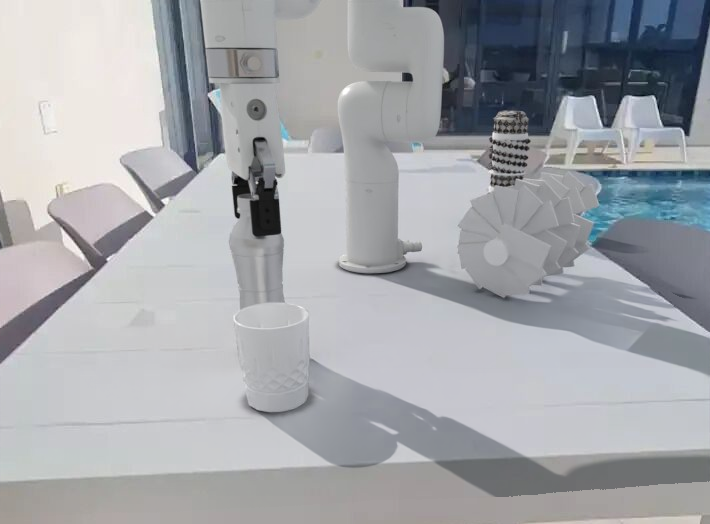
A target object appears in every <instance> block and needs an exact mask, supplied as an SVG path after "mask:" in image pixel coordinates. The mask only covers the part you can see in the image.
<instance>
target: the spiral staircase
mask: <svg viewBox="0 0 710 524" xmlns="http://www.w3.org/2000/svg"><path fill="white" fill-rule="evenodd" d="M488 193H489V192H488ZM488 193H485V194H483V195H481V196H478V197H475V198H472V199H470V200H469V201H470V205H471V207H470V208H469V210H468V211H467V212H466V213H465V214H464V216H463V217H462V219H461V220H460V221H459V222H458V224H457V227H459V229H460V230H459V237H458V238H459V239H458V244H457V254H458V256H459V261H460V268H461V269H462V270H465V271H466V273H467V274H468V275H469V277H470V278H471V279H472V281H473V282H474V284H475V285H476V287H477V288H478V289H479V290H481V289H483V288H484V289H486V290H488V291H490V292H492V293H493V294H495V295H497V296H499V297H502V298H503V299H505V298H506V296H507V295H529V294H530V293H531V292H530V291H531V290H530V286H543V279H544V278H546V277H550V276H555V275H561V274H564V273H565V270H564V268H575V260H576V259H577V258H579V257H580V256H582V255H583V254H585V253H586V252H587V251H588V250H590V249H591V246H590V245H589V244H588V240H589V238H590V235H591V233H592V230H593V228H594V225H595V222H594V221H592V220H590V219H587V218H585V217H583V216H580V215H578V214H581V213H583V212H586V211H589V210H592V209H595V208H598V207H600V206H601V205H600V203H599V202H600V201H599V199H598V197H597V194H596V189H595V187H594V184H593V183H590V184H587V185H585V184H584V183H583V182H582V181H581V180H580V179H578V178H577V177H576V176H575V175H574V174H573V173H571V171H569V170H568V171H566V172H565V173H564V175H562V174H561V175H560V174H556V173H555V174H554V173H549V172H543V171H542V172H540V178H539V177H538V178H536V179H533V178H525V177H523V180H520V179H516V181H515V185H512V186H508V187H501V186H497V185H495V186H494V191H491V193H489V194H488Z"/></svg>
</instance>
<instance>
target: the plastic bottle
mask: <svg viewBox="0 0 710 524" xmlns="http://www.w3.org/2000/svg"><path fill="white" fill-rule="evenodd" d="M249 200H253V199H252V195H251V194H242V195H239V196H237V202H238V208H237V212H238V213H240V218H239V219H237V221H236V223H235V224H234V225H233V227H232V229H231V232H230V233H229V238H228V245H229V250H230V254H231V257H232V261H233V265H234V270H235V274H236V281H237V284H238V292H239V310H241V309H243V308H246V307H249V306H252V305H257V304H263V303H286V299H285V295H284V284H283V281H284V277H283V276H284V275H283V265H284V253H285V249H284V248H285V239H284V236H283V234H282V232H281V233H280V234H279V235H269V236H259V237H256V236H254V235H253V234H252V224H251V213H250V202H249Z"/></svg>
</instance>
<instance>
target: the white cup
mask: <svg viewBox="0 0 710 524" xmlns="http://www.w3.org/2000/svg"><path fill="white" fill-rule="evenodd" d="M232 321H233V326H234V327H233V328H234V334H235V341H236V345H237V346H236V347H237V353H238V358H239V364H240V370H241V376H242V381H243V382H244V387H245V394H246V399H247V403H248V406H249V407H251V408H253V409H255V410H256V411H260V412H266V413H283V412H287V411H291V410H295V409H298V408H299V407H301V406H302V405H304V404H305V403H306V401H307V400H308V397H309V375H310V313H309V310H307V308H305V307H304V306H301V305H298V304H295V303H291V302H289V303H288V302H285V303H263V304H257V305H252V306H249V307H246V308H243V309H241V310H240V309H239V310H238V311H236V312H235V313H234V314H233V316H232Z"/></svg>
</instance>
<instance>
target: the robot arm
mask: <svg viewBox="0 0 710 524" xmlns="http://www.w3.org/2000/svg"><path fill="white" fill-rule="evenodd" d="M321 1H322V0H199V2H200V10H201V19H202V28H203V30H202V31H203V39H204V46H205V56H206V67H207V74H208V75H207V77H208V83H209V84H218V85H219V97H220V99H219V102H220V110H221V111H220V112H221V113H220V114H221V124H222V136H223V145H224V151H225V158H226V164H227V167H228V169H229V170H230V171H231V184H232V185H231V192H232V193H231V195H232V202H233V204H232V205H233V214H234V217H235V218H236V219H237V220H239V218H240V213H238V212H237V208H238V202H237V196H239V195H242V194H251V195H252V199H253V200H249V202H250V213H251V224H252V234H253V235H254V236H256V237H259V236H269V235H279V234H280V233H282V222H281V207H280V194H279V193H280V192H279V189H278V188H279V187H278V184H279V183H278V179H282V178H283V177H284V176H285V174H286V162H285V153H284V144H283V136H282V126H281V125H282V124H281V118H280V111H279V104H278V103H279V102H278V97H277V92H276V86H275V84H279V83H280V69H279V68H280V67H279V66H280V65H279V53H278V39H277V37H278V36H277V22H276V21H281V20H284V21H287V20H291V21H292V20H298V19H299V20H300V19H303V18H305V17H309V16H310V15H311V14H312V13H314V11H316V9H317V8H318V7H319V5H320V3H321ZM346 22H347V24H346V25H347V26H346V27H347V30H346V32H347V34H346V37H347V54H348V59H349V62H350V64H351V65H352V66H353V67H354V68H355V69H356V70H359V71H362V72H369V73H402V74H403V73H406V74H407V73H408V74H410V75H411V77H412V81H394V80H393V81H391V80H361V81H355V82H352V83H350V84H348V85H345V87H344V88H343V89H342V90H341V92H340V93H339V95H338V99H337V106H336V107H337V118H338V123H339V128H340V133H341V140H342V146H343V156H344V157H343V159H344V183H345V184H344V187H345V188H344V189H345V221H346V222H345V223H346V224H345V226H346V227H345V228H346V229H345V230H346V253H344V254H342V255H340V256H339V258H338V265H339V267H341V268H342V269H343V270H345V271H349V272H352V273H353V272H354V273H358V274H359V273H360V274H386V273H393V272H396V271H400V270H401V269H404V268H405V266H406V265H407V258H406V257H405V255H407V254H408V253H418V252H422V250H423V245H422V242H421V241H420V240H417V241H410V240H409V239H408V240H402V239H400V238H399V178H400V176H399V173H400V172H399V166H398V161H397V160H396V158H395V156H394V155H393V153H392V151H391V150H390V148H389V147H388V145H387V143H410V144H411V143H413V144H414V143H416V144H417V143H418V144H421V143H428V142H431V141H432V140H434V139H435V137H436V136H437V134H438V132H439V128H440V124H441V115H442V101H443V100H442V97H443V79H444V59H445V34H444V33H445V32H444V27H443V23H442V19H441V17H440V15H439V14H438V13H437V12H436V11H435V10H433V9H432V8H429V7H424V6H404V7H401V0H347V21H346ZM277 178H278V179H277Z"/></svg>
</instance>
